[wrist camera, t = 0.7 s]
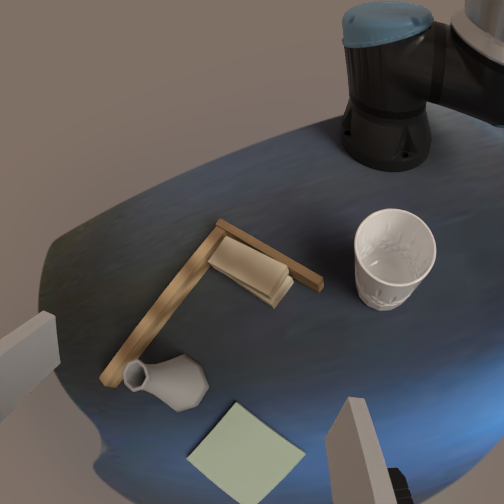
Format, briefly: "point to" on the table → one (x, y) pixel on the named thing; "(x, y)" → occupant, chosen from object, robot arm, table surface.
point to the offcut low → (279, 294)
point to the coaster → (245, 456)
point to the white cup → (391, 257)
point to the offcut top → (249, 267)
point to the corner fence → (185, 284)
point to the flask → (169, 381)
